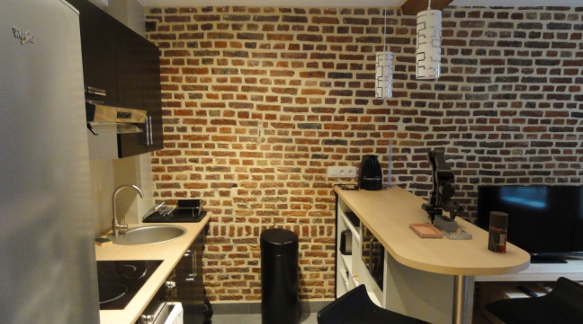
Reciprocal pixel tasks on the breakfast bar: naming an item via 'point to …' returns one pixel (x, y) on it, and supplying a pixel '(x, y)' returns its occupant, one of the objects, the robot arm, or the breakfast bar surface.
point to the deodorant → (498, 232)
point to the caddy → (445, 223)
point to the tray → (425, 230)
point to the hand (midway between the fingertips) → (441, 224)
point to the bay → (457, 235)
